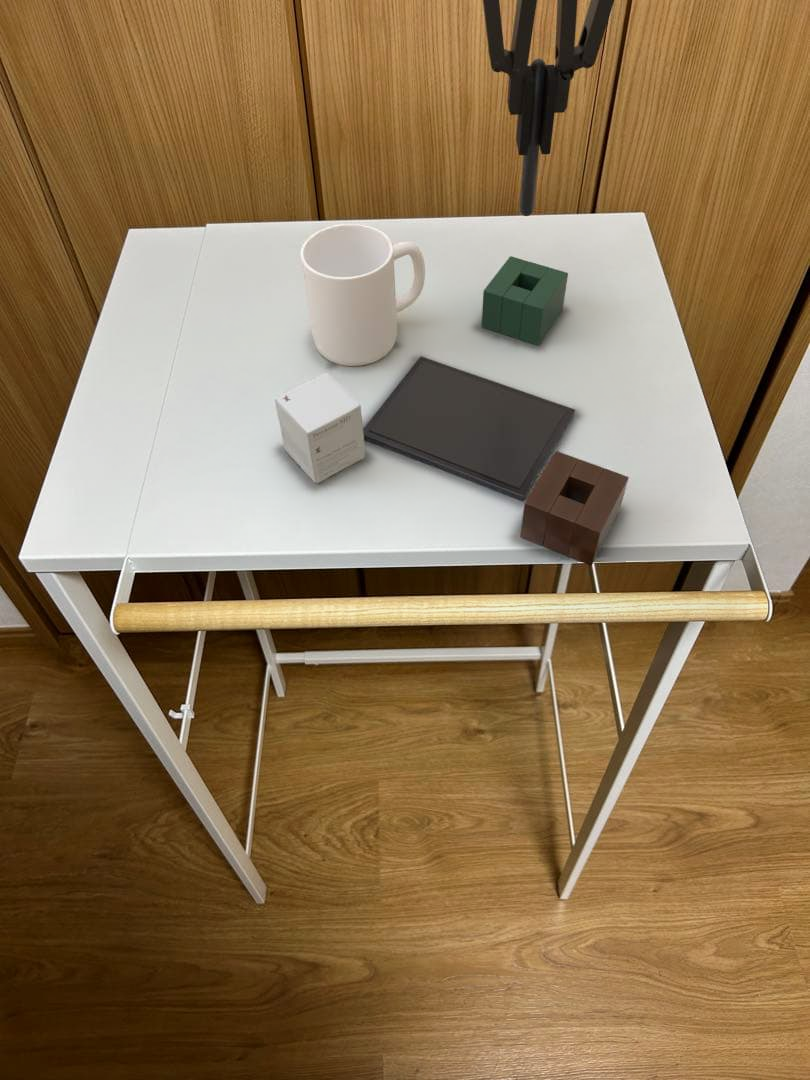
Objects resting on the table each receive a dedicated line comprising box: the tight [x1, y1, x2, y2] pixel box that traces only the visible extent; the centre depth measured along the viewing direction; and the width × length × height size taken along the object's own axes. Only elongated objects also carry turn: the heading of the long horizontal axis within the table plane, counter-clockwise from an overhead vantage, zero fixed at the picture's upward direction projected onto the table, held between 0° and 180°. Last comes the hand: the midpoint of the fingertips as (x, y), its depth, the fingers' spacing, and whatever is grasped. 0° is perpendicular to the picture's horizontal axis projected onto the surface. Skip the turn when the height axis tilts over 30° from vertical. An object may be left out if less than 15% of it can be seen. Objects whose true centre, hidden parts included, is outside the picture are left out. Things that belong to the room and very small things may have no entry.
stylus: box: [519, 58, 547, 217], centre depth 76 cm, size 1×1×14 cm
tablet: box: [363, 355, 576, 502], centre depth 85 cm, size 18×13×1 cm
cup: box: [300, 223, 426, 367], centre depth 89 cm, size 9×14×12 cm
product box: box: [274, 371, 366, 484], centre depth 80 cm, size 6×6×7 cm
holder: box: [519, 450, 630, 567], centre depth 75 cm, size 7×7×5 cm
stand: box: [481, 256, 569, 346], centre depth 93 cm, size 7×7×5 cm
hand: (532, 146), depth 76 cm, fingers closed on stylus
